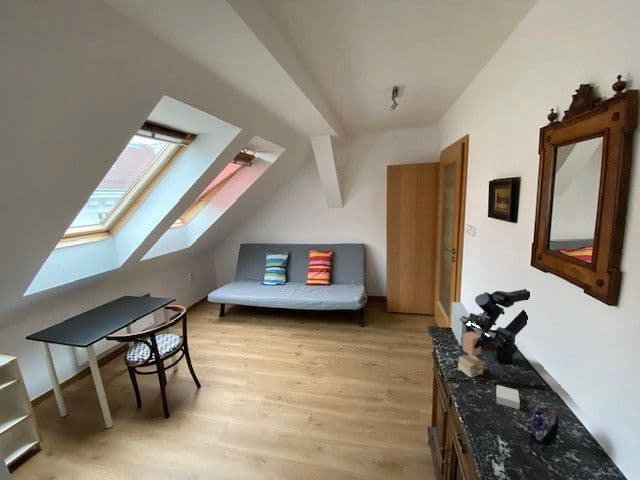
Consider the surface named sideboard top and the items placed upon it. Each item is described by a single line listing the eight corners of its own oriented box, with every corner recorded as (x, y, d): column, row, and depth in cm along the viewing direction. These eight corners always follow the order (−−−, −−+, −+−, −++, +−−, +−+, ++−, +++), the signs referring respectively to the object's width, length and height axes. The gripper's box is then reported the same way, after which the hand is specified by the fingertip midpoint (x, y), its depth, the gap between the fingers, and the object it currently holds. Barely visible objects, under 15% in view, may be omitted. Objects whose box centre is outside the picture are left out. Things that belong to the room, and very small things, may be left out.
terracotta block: (471, 347, 127) (471, 331, 126) (480, 353, 122) (481, 336, 121) (462, 350, 125) (463, 333, 124) (472, 356, 121) (472, 339, 119)
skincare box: (471, 347, 144) (473, 318, 141) (460, 346, 145) (461, 318, 142) (460, 327, 164) (461, 301, 161) (450, 326, 165) (451, 301, 162)
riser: (496, 391, 113) (496, 384, 112) (517, 397, 109) (517, 390, 109) (496, 403, 107) (497, 396, 107) (519, 409, 104) (519, 402, 103)
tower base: (470, 364, 130) (470, 359, 130) (482, 373, 124) (483, 367, 123) (458, 368, 128) (458, 362, 128) (470, 378, 122) (470, 371, 121)
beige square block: (471, 359, 129) (471, 353, 129) (483, 369, 123) (484, 362, 122) (458, 362, 128) (458, 356, 127) (470, 372, 121) (470, 366, 121)
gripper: (463, 299, 130) (443, 326, 129) (500, 315, 113) (478, 347, 111) (475, 311, 134) (456, 338, 133) (513, 329, 117) (492, 359, 115)
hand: (469, 345), depth 123 cm, fingers closed on terracotta block, 5 cm apart
